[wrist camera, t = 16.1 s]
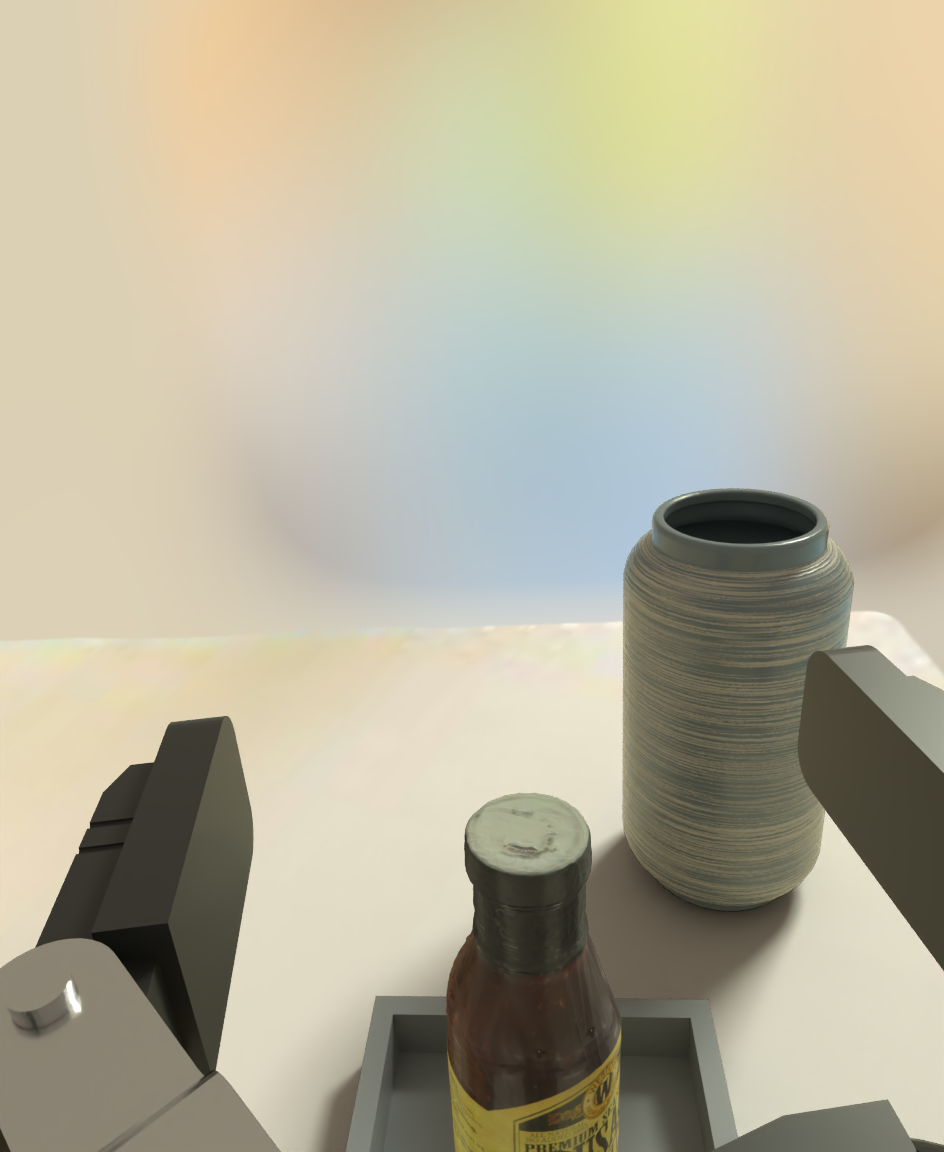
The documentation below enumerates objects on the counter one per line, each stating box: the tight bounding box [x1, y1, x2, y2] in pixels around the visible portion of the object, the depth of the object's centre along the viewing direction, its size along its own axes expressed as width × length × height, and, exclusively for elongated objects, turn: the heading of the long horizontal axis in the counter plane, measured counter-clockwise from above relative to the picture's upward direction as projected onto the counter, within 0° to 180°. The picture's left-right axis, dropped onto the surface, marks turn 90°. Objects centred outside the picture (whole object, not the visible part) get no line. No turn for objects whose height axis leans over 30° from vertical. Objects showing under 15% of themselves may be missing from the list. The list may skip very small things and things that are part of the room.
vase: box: [623, 488, 854, 911], centre depth 49 cm, size 12×12×23 cm
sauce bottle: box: [446, 793, 621, 1152], centre depth 31 cm, size 6×6×20 cm
